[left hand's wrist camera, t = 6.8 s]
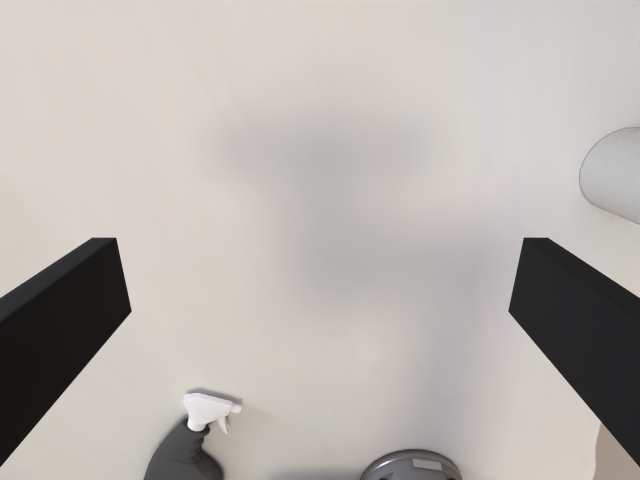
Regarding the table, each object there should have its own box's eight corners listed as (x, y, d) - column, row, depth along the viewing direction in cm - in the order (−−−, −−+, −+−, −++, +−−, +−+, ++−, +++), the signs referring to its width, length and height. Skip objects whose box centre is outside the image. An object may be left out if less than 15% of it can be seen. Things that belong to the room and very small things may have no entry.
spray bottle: (139, 501, 58) (173, 378, 50) (210, 518, 59) (254, 400, 51) (130, 522, 55) (164, 395, 47) (204, 538, 56) (250, 418, 48)
